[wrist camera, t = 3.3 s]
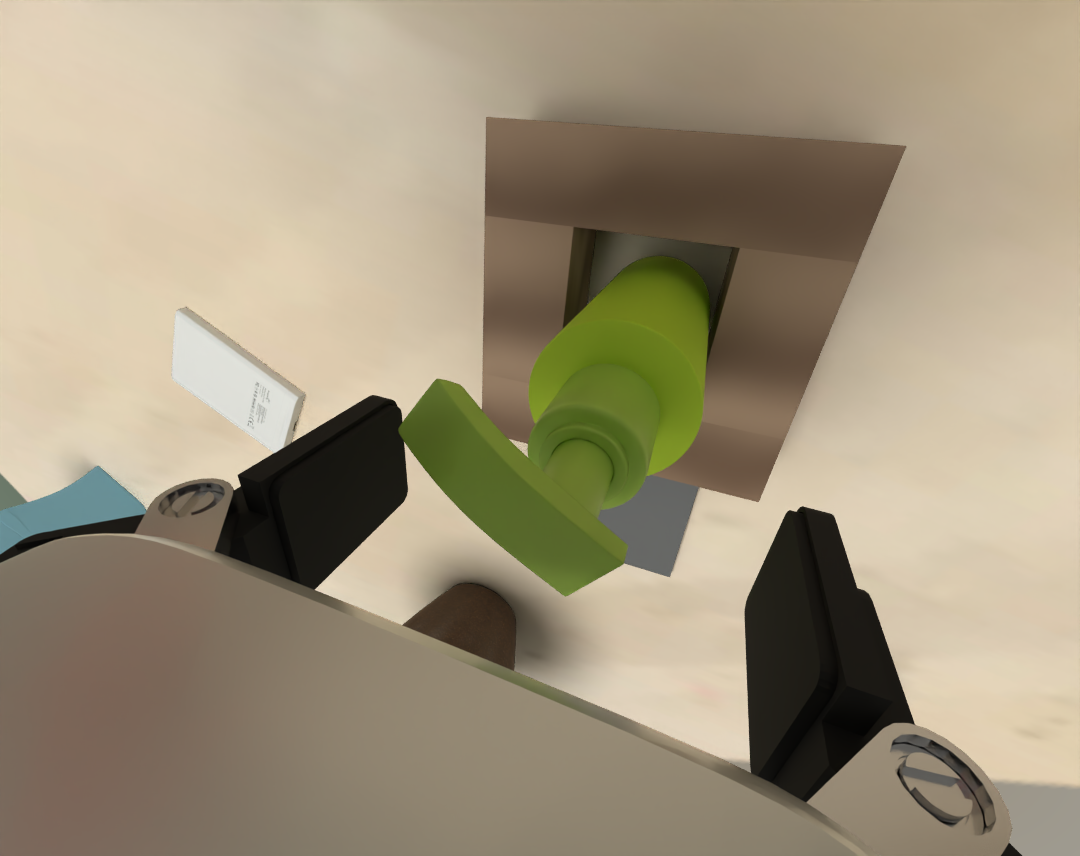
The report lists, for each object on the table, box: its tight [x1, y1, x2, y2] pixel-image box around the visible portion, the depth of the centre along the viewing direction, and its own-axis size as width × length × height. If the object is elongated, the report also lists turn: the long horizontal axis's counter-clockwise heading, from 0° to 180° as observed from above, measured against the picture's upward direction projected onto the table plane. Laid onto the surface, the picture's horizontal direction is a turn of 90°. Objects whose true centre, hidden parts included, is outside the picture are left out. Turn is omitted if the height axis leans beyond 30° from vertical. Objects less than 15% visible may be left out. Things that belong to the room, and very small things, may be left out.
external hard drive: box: [172, 307, 305, 453], centre depth 41 cm, size 2×8×12 cm
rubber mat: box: [598, 475, 699, 577], centre depth 33 cm, size 11×11×1 cm
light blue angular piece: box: [0, 466, 146, 554], centre depth 51 cm, size 8×8×20 cm
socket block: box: [482, 117, 906, 502], centre depth 24 cm, size 16×16×5 cm
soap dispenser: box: [398, 256, 710, 596], centre depth 18 cm, size 6×7×20 cm
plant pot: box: [402, 584, 516, 671], centre depth 38 cm, size 15×15×16 cm
